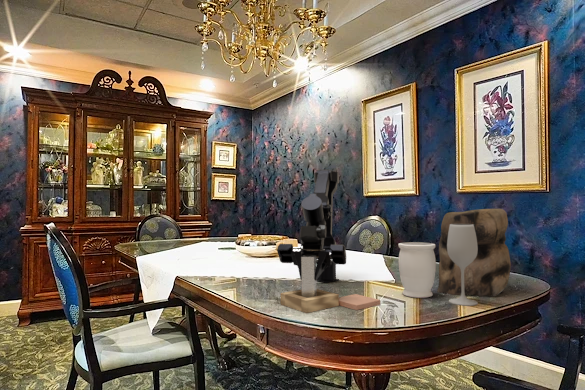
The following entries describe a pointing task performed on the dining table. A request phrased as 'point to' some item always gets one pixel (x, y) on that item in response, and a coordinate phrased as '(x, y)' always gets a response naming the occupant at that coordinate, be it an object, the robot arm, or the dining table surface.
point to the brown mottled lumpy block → (490, 257)
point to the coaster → (358, 301)
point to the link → (308, 276)
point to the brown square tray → (309, 300)
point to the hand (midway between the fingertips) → (308, 279)
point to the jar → (417, 268)
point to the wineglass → (462, 254)
